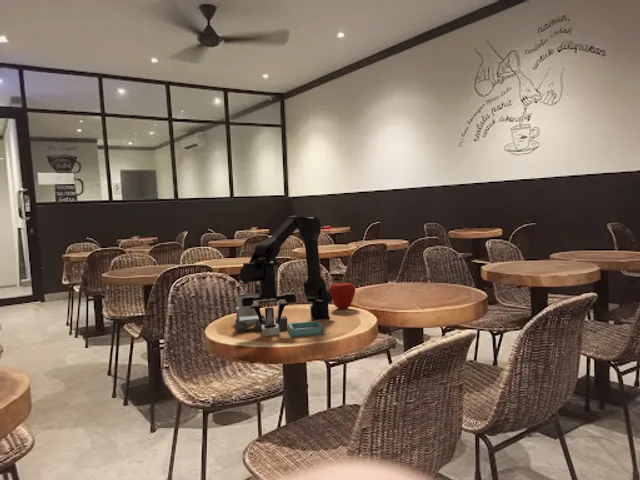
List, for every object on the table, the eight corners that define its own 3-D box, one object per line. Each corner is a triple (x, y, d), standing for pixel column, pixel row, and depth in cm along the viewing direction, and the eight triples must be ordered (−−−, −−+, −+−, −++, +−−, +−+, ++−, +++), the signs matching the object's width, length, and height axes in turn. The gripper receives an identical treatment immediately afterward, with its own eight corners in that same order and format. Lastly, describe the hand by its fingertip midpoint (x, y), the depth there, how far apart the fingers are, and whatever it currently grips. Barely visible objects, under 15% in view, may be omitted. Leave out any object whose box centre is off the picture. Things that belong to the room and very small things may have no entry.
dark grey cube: (286, 326, 179) (286, 316, 179) (287, 329, 176) (287, 318, 175) (275, 327, 179) (275, 317, 179) (276, 330, 175) (276, 319, 175)
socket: (278, 330, 174) (278, 323, 174) (279, 334, 168) (279, 327, 168) (261, 332, 173) (261, 325, 173) (262, 336, 167) (262, 329, 167)
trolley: (265, 324, 185) (264, 303, 184) (266, 330, 175) (265, 308, 175) (236, 327, 183) (234, 306, 182) (236, 332, 174) (234, 310, 173)
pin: (274, 331, 172) (273, 306, 172) (275, 333, 169) (273, 308, 169) (266, 332, 172) (264, 307, 171) (266, 334, 169) (265, 309, 168)
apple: (357, 306, 210) (356, 278, 210) (353, 311, 200) (352, 282, 199) (332, 306, 213) (331, 279, 212) (327, 311, 202) (326, 282, 202)
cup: (254, 322, 189) (253, 297, 188) (235, 322, 190) (233, 297, 190) (261, 317, 197) (260, 293, 196) (242, 317, 199) (241, 293, 198)
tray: (318, 327, 175) (318, 320, 175) (323, 334, 165) (323, 326, 165) (288, 330, 173) (288, 323, 173) (291, 337, 164) (291, 329, 163)
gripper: (291, 274, 179) (293, 316, 180) (240, 278, 176) (242, 320, 176) (295, 278, 168) (297, 323, 169) (240, 282, 165) (243, 327, 166)
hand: (270, 323), depth 170 cm, fingers open, 6 cm apart
